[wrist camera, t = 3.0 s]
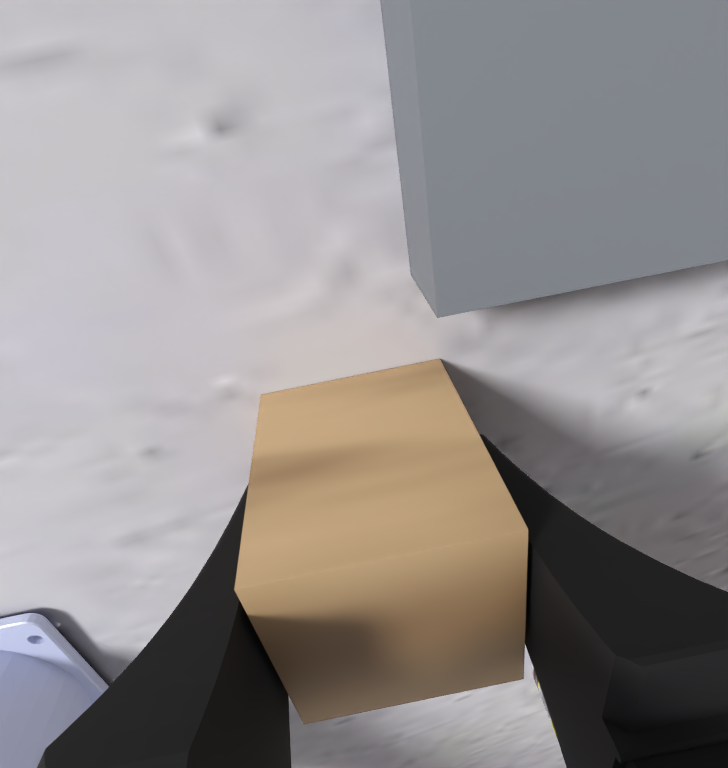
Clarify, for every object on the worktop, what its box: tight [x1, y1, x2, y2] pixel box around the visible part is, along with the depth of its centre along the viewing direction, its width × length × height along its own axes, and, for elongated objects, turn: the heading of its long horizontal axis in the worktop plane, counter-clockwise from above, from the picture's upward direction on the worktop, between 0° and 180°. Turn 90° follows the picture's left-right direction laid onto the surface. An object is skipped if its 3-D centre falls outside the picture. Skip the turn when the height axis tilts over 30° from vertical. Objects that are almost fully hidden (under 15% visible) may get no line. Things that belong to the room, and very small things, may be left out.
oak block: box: [234, 359, 528, 724], centre depth 12 cm, size 5×5×6 cm
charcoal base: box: [380, 0, 728, 318], centre depth 9 cm, size 8×8×3 cm
